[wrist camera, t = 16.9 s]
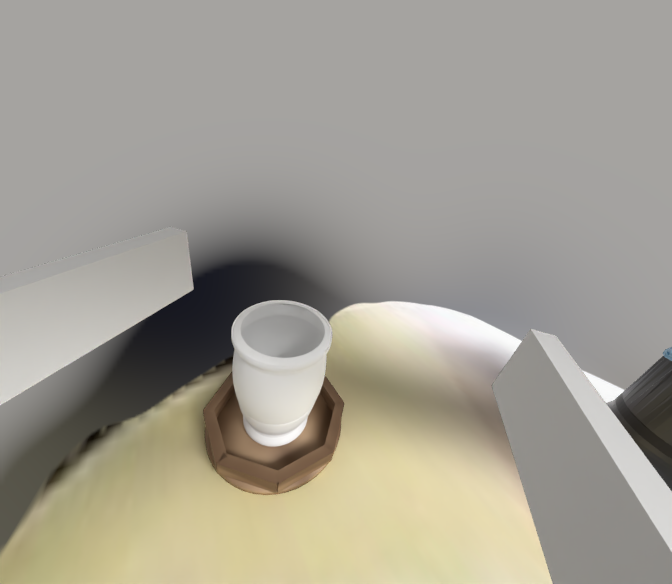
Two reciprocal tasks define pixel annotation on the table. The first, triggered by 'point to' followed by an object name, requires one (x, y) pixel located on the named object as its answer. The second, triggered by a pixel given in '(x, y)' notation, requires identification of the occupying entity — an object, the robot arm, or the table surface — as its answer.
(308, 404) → the jar
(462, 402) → the table surface
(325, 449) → the tray
